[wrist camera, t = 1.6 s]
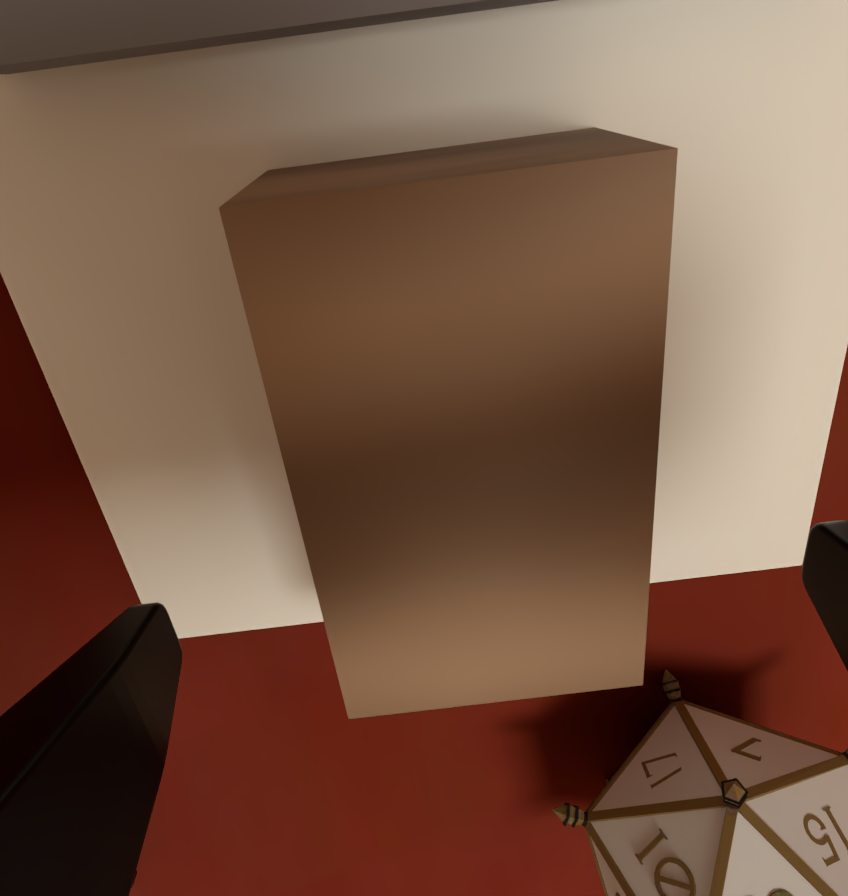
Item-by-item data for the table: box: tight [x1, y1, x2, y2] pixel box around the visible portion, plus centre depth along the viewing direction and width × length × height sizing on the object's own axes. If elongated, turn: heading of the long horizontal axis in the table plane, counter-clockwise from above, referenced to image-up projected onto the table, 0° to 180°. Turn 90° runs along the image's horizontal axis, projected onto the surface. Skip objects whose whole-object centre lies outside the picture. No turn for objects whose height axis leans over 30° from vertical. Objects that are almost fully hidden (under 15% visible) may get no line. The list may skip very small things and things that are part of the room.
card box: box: [219, 127, 678, 719], centre depth 13 cm, size 10×6×4 cm, turn 7°
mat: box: [0, 0, 848, 639], centre depth 11 cm, size 23×17×3 cm
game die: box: [552, 669, 848, 896], centre depth 18 cm, size 9×8×10 cm
